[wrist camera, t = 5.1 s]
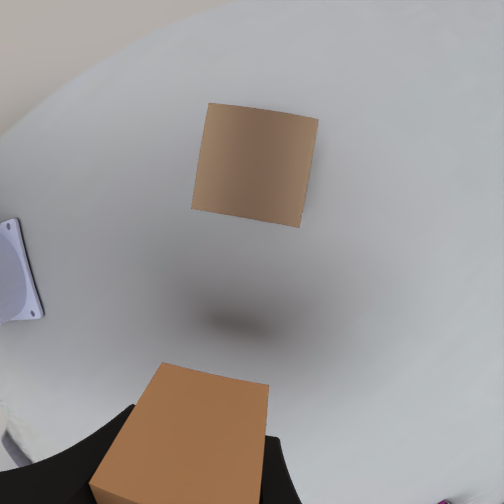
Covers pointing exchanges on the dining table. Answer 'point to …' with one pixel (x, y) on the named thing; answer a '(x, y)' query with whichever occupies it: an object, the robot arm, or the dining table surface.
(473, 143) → the dining table surface
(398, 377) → the dining table surface
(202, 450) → the orange block
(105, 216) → the dining table surface
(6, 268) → the robot arm
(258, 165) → the walnut block
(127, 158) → the dining table surface
